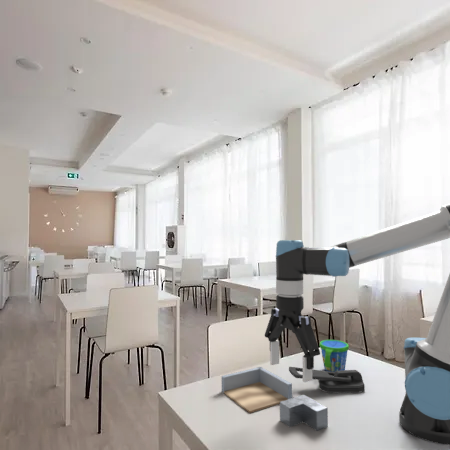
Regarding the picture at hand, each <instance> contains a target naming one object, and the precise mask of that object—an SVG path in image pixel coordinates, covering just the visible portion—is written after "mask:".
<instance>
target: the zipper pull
mask: <svg viewBox="0 0 450 450" xmlns="http://www.w3.org/2000/svg"><path fill="white" fill-rule="evenodd" d="M288 372H289V373H290V374H291V375H292V376H293V377H294V378H295V379H302V380H303V374H301V373H303V367H296V366H288ZM300 372H301V373H300ZM312 380H318V388H319V389H320V390H321V391H323V392H325V393H328V394H343V393H344V394H348V393H349V394H351V393H353V394H354V393H355V394H356V393H358V394H360V393H362V392H365V387H366V386H365V382H364V379H363V376H362V373H361V372H360V371H358V370H356V369H345V370H341V371H335V372H329V371H327V370H319V369H314V368H313V369H312Z"/></svg>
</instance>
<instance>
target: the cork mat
mask: <svg viewBox="0 0 450 450" xmlns="http://www.w3.org/2000/svg"><path fill="white" fill-rule="evenodd" d="M223 394H224V395H226V397H228V398H230V399H231V400H232V401H233V402H235V403H236V404H237V405H239V406H240V408H242V409H243V410H245V411H247V412H248V413H249V414H252V413H254V412H257V411H262V410H264V409H267V408H271V407H274V406H277V405H280V402H281V401H285V400H288V399H287V398H286V397H284V396H283V395H281V394H279V393H278V392H276V391H274V390H273V389H271V388H269V387H268V386H266V385H264V384H263V383H261V382H257V383H253V384H250V385H246V386H242V387H238V388H234V389H231V390H227V391H224V393H223Z"/></svg>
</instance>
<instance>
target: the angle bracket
mask: <svg viewBox="0 0 450 450" xmlns="http://www.w3.org/2000/svg"><path fill="white" fill-rule="evenodd" d="M328 413H329V412H328V407H327V406H325V405H324V404H321V403H320V402H318V401H316V399H313V398H311V397H310V396H307V395H305V394H302V395H298V396H295V397H292V398H291V399H288V400H285V401H281V402H280V404H279V421H280V422H282V423H283V424H285V426H287V427H289V428H291V427H294V426H296V425H300V424H302V423H304V424H305V425H307V426H308V427H310V428H311V429H313V430H315V431H316V432H318V431H321V430H323V429H326V428H329V425H328V424H329V422H328V421H329V418H328V417H329V416H328Z"/></svg>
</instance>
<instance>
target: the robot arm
mask: <svg viewBox="0 0 450 450" xmlns="http://www.w3.org/2000/svg"><path fill="white" fill-rule="evenodd" d="M449 239H450V203H446V204H444V205H441V208H440V209H439V210H438V211H434V212H432V213H428V214H426V215H423V216H420V217H416V218H413V219H410V220H407V221H405V222H402V223H398V224H395V225H393V226H390V227H386V228H384V229H381V230H377V231H374V232H372V233H368V234H365V235H363V236H360V237H357V238H354V239H350V240H347V241H345V242H341V243H338V244H334V245H332V246H325V247H324V246H322V247H309V246H304V242H303V241H302V239H301V240H300V239H299V240H298V239H297V240H296V239H294V240H293V239H284V240H283V239H282V240H278V241H277V243H276V250H275V266H276V267H275V268H276V269H275V272H276V274H275V275H276V277H275V278H276V279H275V293H276V294H277V295H276V296H275V297H276V301H275V302H276V305H275V306H276V307H274V308H271V310H270V317H269V321H268V324H267V327H266V330H265V331H264V338H267V340H268V342H269V351H270V352H269V353H270V355H269V356H270V357H269V358H270V359H269V361H270V366H274V365H275V366H276V365H279V364H280V340H279V337H280V336H281V334H282V333H283V331H284V330H285V329H288V330H290V331H291V332H292V333H293V334H294V335H295V337H296V339H297V341H298V343H299V346H300V348H301V350H302V352H303V355H302V368H303V372H302V375H303V379H302V382H303V383H307V382H310V381H313V379H312V369H313V370H314V368H315V359H314V358H315V357H316V356H320V355H321V351H320V350H321V349H320V346H319V345H318V341H317V339H316V336H315V333H314V329H313V326H312V322H311V321H312V319H311V316H310V315H308V316H307V315H306V316H304V315H302V311H303V309H304V302H305V301H304V296H303V294H304V275H312V276H313V275H314V276H328V277H329V276H330V277H332V278H333V277H346V276H348V274H349V273H350V272H349V271H350V268H353V267H356V266H360V265H362V264H363V265H364V264H366V263H369V262H370V263H371V262H373V261H376V260H379V259H383V258H387V257H390V256H393V255H396V254H400V253H404V252H406V251H410V250H414V249H418V248H420V247H424V246H428V245H431V244H434V243H438V242H441V241H444V240H449ZM434 313H435V314H434V317H433V320H432V323H431V325H430V328H429V331H428V333H427V336H426V337H407V338H405V340H404V344H403V345H404V346H403V350H404V377H405V378H404V389H405V394H404V398H403V400H402V403H401V407H400V409H399V413H398V416H399V419H398V420H399V424H400V426H401V427H402V428H403V429H404V430H405V431H406V432H408V433H409V434H411V435H413V436H414V437H417V438H419V439H422V440H424V441H427V442H431V443H435V444H442V445H450V273H449V274H448V277H447V280H446V283H445V285H444V287H443V291H442V295H441V297H440V300H439V302H438V306H437V308H436V311H435V312H434Z"/></svg>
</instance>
